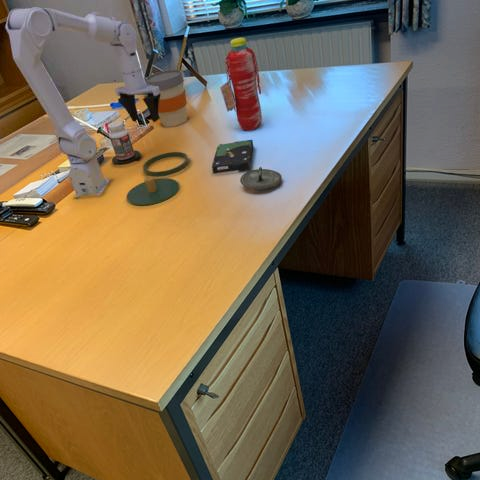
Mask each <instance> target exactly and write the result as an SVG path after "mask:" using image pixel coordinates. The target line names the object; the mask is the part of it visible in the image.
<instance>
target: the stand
mask: <svg viewBox="0 0 480 480" xmlns="http://www.w3.org/2000/svg"><path fill="white" fill-rule="evenodd" d="M134 153H135V154H134V156H133V157H131V158H129V159H125V160H119V159H117V157H116V155H114V156H113V157H112V158H111V162H112V164H113V165H115V166H126V165H129V164H132V163H135V162H139V161H140V160H142V153H141V151H139V150H135V149H134Z"/></svg>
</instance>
